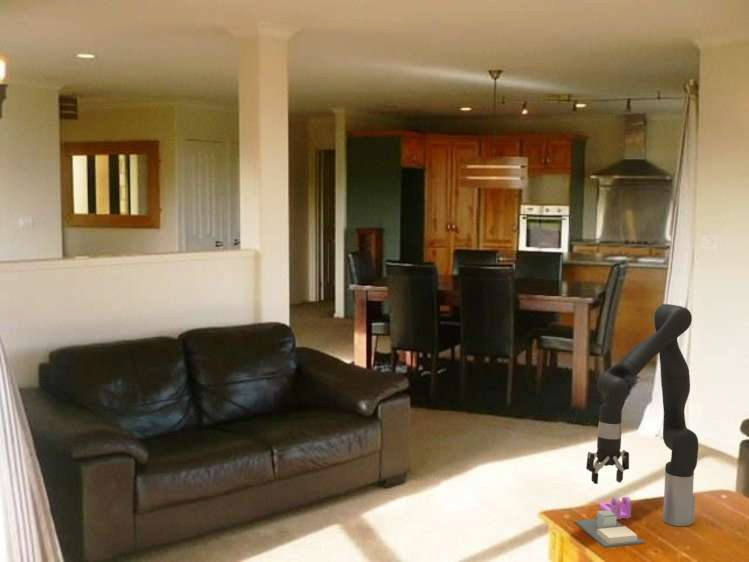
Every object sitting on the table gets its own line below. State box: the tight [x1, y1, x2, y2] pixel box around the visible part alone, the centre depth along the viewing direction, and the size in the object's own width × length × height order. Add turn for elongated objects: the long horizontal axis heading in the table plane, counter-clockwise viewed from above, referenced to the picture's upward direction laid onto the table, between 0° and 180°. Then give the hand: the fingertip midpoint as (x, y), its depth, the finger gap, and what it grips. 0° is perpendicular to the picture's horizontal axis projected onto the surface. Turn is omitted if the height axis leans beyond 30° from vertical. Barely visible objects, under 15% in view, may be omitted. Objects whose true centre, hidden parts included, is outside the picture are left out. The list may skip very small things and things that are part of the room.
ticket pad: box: [574, 518, 645, 548], centre depth 284 cm, size 14×21×3 cm, turn 14°
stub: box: [596, 510, 618, 528], centre depth 285 cm, size 4×5×6 cm
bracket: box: [599, 496, 632, 520], centre depth 302 cm, size 13×6×7 cm, turn 17°
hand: (606, 482), depth 284 cm, fingers open, 8 cm apart
